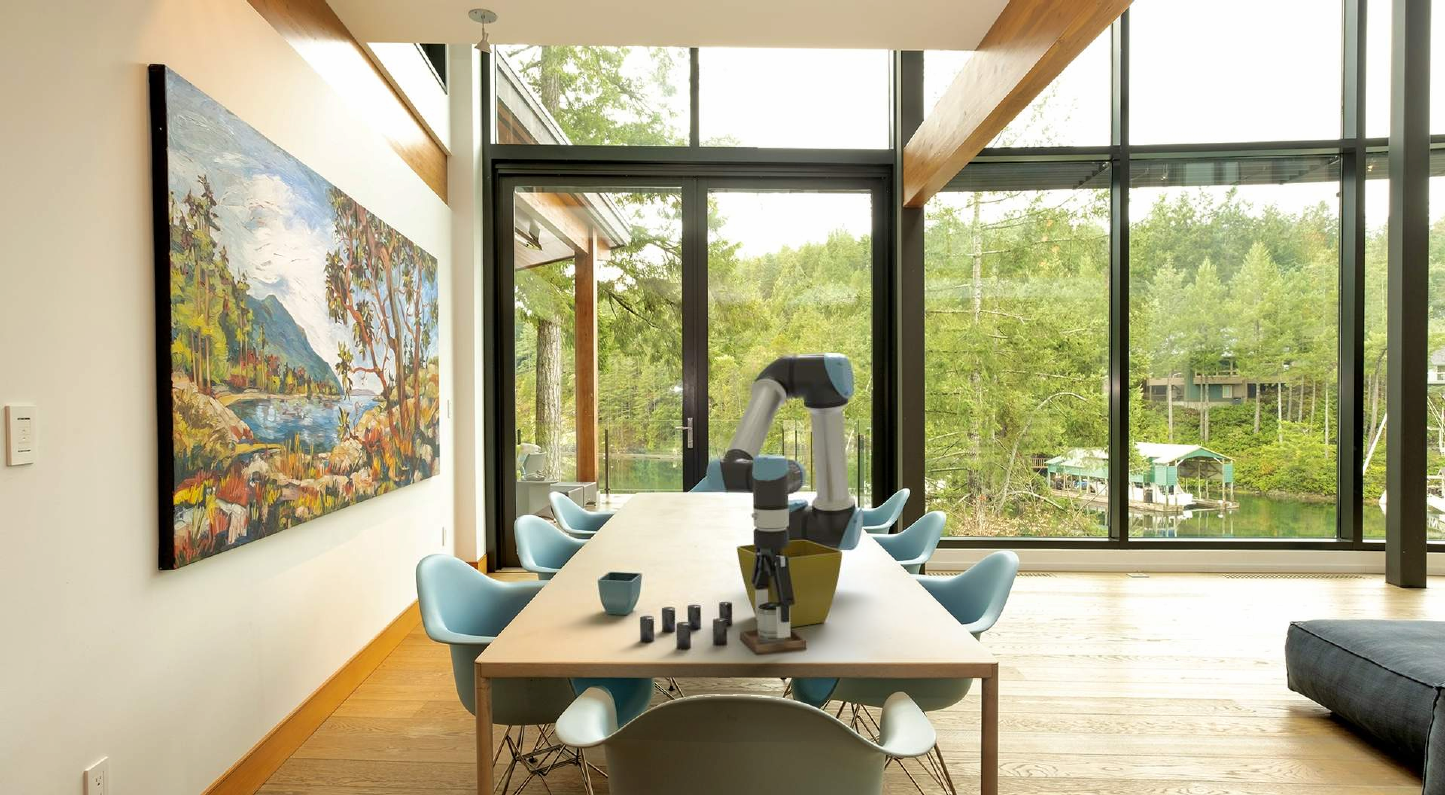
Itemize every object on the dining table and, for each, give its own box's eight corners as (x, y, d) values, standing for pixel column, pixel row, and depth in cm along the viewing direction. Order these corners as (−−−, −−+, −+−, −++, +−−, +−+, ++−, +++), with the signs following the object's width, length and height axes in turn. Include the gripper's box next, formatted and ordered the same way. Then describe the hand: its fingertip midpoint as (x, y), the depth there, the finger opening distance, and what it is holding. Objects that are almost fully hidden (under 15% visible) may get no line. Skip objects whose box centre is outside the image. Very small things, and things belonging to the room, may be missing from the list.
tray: (787, 634, 175) (787, 626, 175) (806, 649, 164) (806, 640, 164) (740, 639, 172) (740, 630, 172) (756, 655, 161) (756, 646, 161)
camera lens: (791, 639, 169) (791, 602, 169) (779, 647, 164) (778, 609, 164) (765, 635, 172) (765, 599, 172) (752, 643, 167) (751, 606, 167)
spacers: (730, 622, 184) (729, 601, 184) (751, 642, 169) (750, 619, 169) (634, 632, 178) (634, 609, 178) (647, 653, 163) (647, 629, 163)
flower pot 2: (736, 614, 191) (735, 545, 191) (804, 605, 199) (803, 538, 199) (771, 636, 174) (770, 560, 174) (845, 625, 181) (844, 552, 181)
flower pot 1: (632, 618, 189) (631, 581, 189) (597, 616, 191) (596, 579, 190) (643, 608, 197) (642, 572, 197) (609, 607, 199) (609, 571, 199)
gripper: (736, 520, 179) (738, 613, 179) (774, 539, 155) (776, 647, 155) (768, 518, 181) (769, 610, 181) (810, 536, 157) (811, 643, 157)
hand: (772, 627), depth 168 cm, fingers open, 13 cm apart
